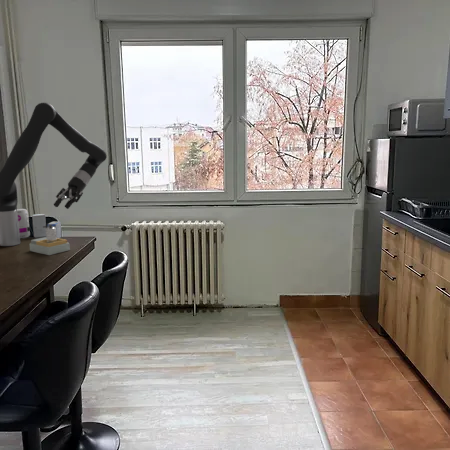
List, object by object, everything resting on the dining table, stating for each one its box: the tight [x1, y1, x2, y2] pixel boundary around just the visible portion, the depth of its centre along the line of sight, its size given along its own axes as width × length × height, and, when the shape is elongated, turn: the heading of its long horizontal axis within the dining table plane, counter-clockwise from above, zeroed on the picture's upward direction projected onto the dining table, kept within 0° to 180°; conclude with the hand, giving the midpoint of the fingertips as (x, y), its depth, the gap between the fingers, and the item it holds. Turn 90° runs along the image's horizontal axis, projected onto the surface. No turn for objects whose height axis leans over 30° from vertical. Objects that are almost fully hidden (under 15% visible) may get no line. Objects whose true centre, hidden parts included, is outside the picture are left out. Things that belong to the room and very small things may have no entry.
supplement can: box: [17, 208, 31, 239], centre depth 227 cm, size 8×8×15 cm
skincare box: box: [31, 213, 47, 239], centre depth 228 cm, size 6×4×12 cm
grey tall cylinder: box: [46, 225, 57, 243], centre depth 196 cm, size 4×4×12 cm
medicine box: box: [47, 221, 62, 239], centre depth 223 cm, size 8×4×9 cm, turn 4°
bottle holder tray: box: [28, 237, 71, 256], centre depth 198 cm, size 15×11×5 cm
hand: (60, 206), depth 200 cm, fingers open, 8 cm apart
